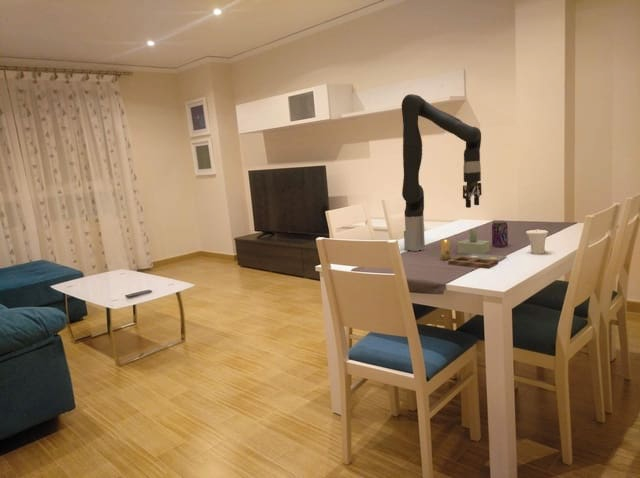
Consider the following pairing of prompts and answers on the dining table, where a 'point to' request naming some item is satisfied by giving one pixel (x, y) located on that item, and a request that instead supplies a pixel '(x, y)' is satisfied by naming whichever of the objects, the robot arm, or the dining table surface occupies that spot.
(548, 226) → the dining table surface
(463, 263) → the walnut frame
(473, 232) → the green cover
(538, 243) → the cup
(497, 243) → the beverage can
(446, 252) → the brass pin
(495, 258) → the grey mat
